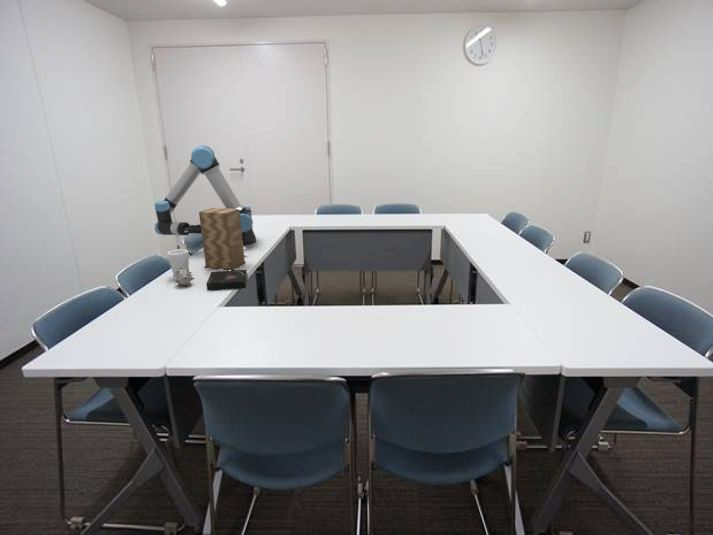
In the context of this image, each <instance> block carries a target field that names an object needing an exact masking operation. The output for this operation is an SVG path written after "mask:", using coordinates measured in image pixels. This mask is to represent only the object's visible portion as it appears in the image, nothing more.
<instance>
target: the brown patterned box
mask: <svg viewBox="0 0 713 535" xmlns="http://www.w3.org/2000/svg"><path fill="white" fill-rule="evenodd" d="M198 216H199V221H200V223H199V225H201V232H202V233H201V239H202V240H201V241H202V246H203V248H202V249H203V255H204V264H205V265H204V269H206V268H211V269H210V270H218V269H223V270H222V271H229V270H235V269H236V270H238V269H240V268H241V267H242V266H244V265H245V263H247V262H246V261H245V253H244V252H245V251H243V246H244V245H243V240H242V229H241V218H240V209H227V208H224V207H223V208H221V207H211V208H208V209H204V210H201V211H199V212H198ZM243 264H244V265H243ZM240 266H241V267H240ZM237 268H238V269H237Z"/></svg>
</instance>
